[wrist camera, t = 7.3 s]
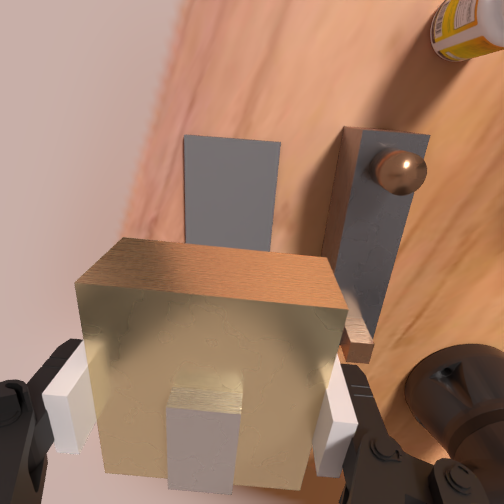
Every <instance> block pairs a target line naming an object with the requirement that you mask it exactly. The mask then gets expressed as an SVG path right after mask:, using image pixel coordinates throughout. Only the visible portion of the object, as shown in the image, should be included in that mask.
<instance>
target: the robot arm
mask: <svg viewBox="0 0 504 504" xmlns="http://www.w3.org/2000/svg"><path fill="white" fill-rule="evenodd" d="M405 398H406V401H407V403H408V405H409V407H410V409H411V411H412V413H413V415H414V417H415V418H416V420H417V421H418V422H419V423H420V424H421V425H422V426H423V427H424V428H426V429H427V430H428V431H429V432H430V433H431V435H432V436H433V437H434V438H435V439H436V440H437V441H438V442H439V443H440V445H441V446H442V447H443V448H444V449H445V450H446V451H447V453H448V454H449V456H450V458H451V459H447V458H442V459H440V460H437V461H436V463H435V465H432V464H430V463H427V462H425V461H422V460H420V459H417V458H415V457H412V456H410V455H408V454H406V453H405V452H404V451H403V450H402V449H401V447H400V445H399V444H398V443H397V442H396V441H395V440H394V439H393V438H392V437H390V436H389V435H388V433H387V431H386V428H385V425H384V423H383V420H382V417H381V415H380V412H379V410H378V407H377V404H376V402H375V399H374V398H373V394H372V391H371V389H370V386H369V383H368V381H367V378H366V375H365V374H364V373H363V372H362V371H361V370H360V368H359V367H358V366H357V365H350V364H340V362H339V358H338V355H336V359H335V362H334V366H333V370H332V374H331V377H330V381H329V385H328V388H327V389H326V390H325V394H324V398H323V402H322V405H321V409H320V413H319V417H318V420H317V424H316V428H315V432H314V435H313V439H312V445H313V452H314V459H315V466H316V473H317V476H322V477H333V478H339V477H340V474H341V471H342V469H343V472H344V476H345V481H346V484H345V487H344V490H343V492H342V495H341V497H340V500H339V503H340V504H504V352H502V351H501V350H499V349H496V348H494V347H491V346H487V345H481V344H464V345H457V346H452V347H449V348H446V349H443V350H440V351H438V352H436V353H434V354H432V355H430V356H429V357H427V358H426V359H424V360H423V361H422V362H421V363H419V364H418V365H417V366H416V367H415V369H414V370H413V371H412V372H411V374H410V375H409V377H408V379H407V382H406V385H405ZM96 422H97V419H96V413H95V407H94V401H93V394H92V388H91V382H90V376H89V370H88V364H87V357H86V351H85V345H84V340H80V339H69V340H68V341H66V342H65V343H63V344H62V345H60V346H59V347H58V348H57V349H56V350H55V351H54V352H53V353H52V355H51V356H50V358H49V359H48V360H47V361H46V362H45V363H44V364H43V366H42V367H41V368H40V369H39V370H38V371H37V372H36V373H35V375H34V376H33V377H32V378H31V379H30V381H29V382H28V383H27V384H25V382H23V381H20V380H6V381H3V382H0V504H41V499H42V494H43V488H44V482H45V476H46V470H47V464H48V460H47V454H46V453H47V452H48V450H49V448H50V447H51V445H52V444H53V442H54V444H55V448H56V451H57V452H60V453H70V454H80V452H81V450H82V448H83V446H84V444H85V442H86V441H87V439H88V437H89V435H90V433H91V431H92V429H93V427H94V425H95V423H96Z"/></svg>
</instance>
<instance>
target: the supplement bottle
mask: <svg viewBox="0 0 504 504" xmlns="http://www.w3.org/2000/svg"><path fill="white" fill-rule="evenodd" d="M430 38H431V44H432V46H433V49H434V50H435V52H436V53H437V54H438V55H439V56H440V57H441V58H443V59H445V60H447V61H452V62H458V61H464V60H467V59H471V58H475V57H478V56H482V55H486V54H489V53H493V52H496V51H500V50H504V0H445V1H444V2H443V3H442V4H441V5H440V7H439V8H438V10H437V12H436V14H435V16H434V18H433V21H432V25H431V30H430Z"/></svg>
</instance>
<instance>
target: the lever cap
mask: <svg viewBox="0 0 504 504" xmlns="http://www.w3.org/2000/svg"><path fill="white" fill-rule="evenodd" d="M75 290H76V295H77V302H78V308H79V314H80V320H81V326H82V333H83V339H84V345H85V351H86V357H87V364H88V370H89V376H90V382H91V388H92V394H93V401H94V407H95V413H96V419H97V425H98V431H99V437H100V444H101V449H102V456H103V462H104V468H105V473H112V474H123V475H134V476H145V477H156V478H167V479H168V489H173V490H184V491H195V492H206V493H217V494H228V495H232V488H233V485H244V486H255V487H266V488H278V489H287V490H299V491H300V489H301V485H302V481H303V477H304V474H305V470H306V466H307V463H308V459H309V455H310V451H311V448H312V439H313V435H314V432H315V428H316V424H317V420H318V417H319V413H320V409H321V405H322V402H323V398H324V394H325V390H326V389H327V388H328V385H329V381H330V377H331V374H332V370H333V366H334V362H335V359H336V355H337V351H338V348H339V344H340V340H341V336H342V333H343V329H344V325H345V322H346V318H347V314H348V311H349V309H348V307H347V304H346V302H345V299H344V297H343V295H342V292H341V290H340V288H339V285H338V283H337V281H336V278H335V276H334V273H333V271H332V269H331V266H330V264H329V262H328V259H327V258H326V257H316V256H306V255H296V254H286V253H276V252H266V251H256V250H246V249H236V248H226V247H216V246H206V245H196V244H186V243H176V242H166V241H156V240H146V239H136V238H126V237H123V238H122V239H121V240H119V241H118V242H117V243H116V244H115V245H114V246H113V247H112V248H111V249H110V250H109V251H108V252H107V253H106V254H105V255H103V256H102V257H101V258H100V259H99V260H98V261H97V262H96V263H95V264H94V265H93V266H92V267H91V268H89V269H88V270H87V271H86V272H85V273H84V274H83V275H82V276H81V277H80V278H79V279H78V280H77V281H76V282H75Z"/></svg>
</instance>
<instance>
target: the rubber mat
mask: <svg viewBox="0 0 504 504" xmlns="http://www.w3.org/2000/svg"><path fill="white" fill-rule="evenodd" d="M280 146H281V142H272V141H259V140H247V139H234V138H221V137H209V136H196V135H184V157H185V224H186V244H196V245H206V246H216V247H226V248H236V249H246V250H256V251H266V252H270V243H271V233H272V224H273V214H274V204H275V194H276V185H277V175H278V165H279V155H280Z"/></svg>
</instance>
